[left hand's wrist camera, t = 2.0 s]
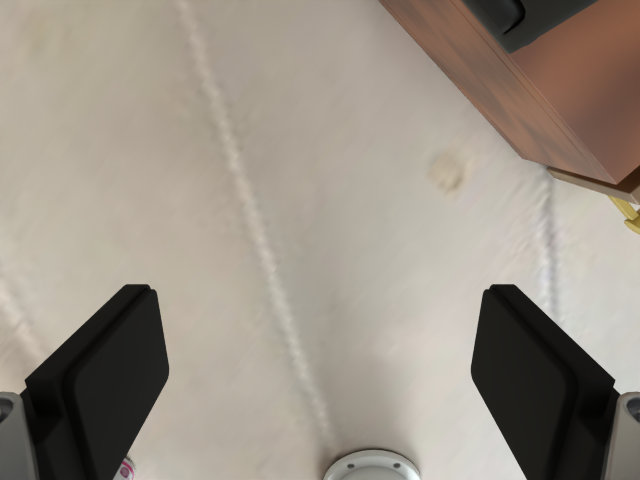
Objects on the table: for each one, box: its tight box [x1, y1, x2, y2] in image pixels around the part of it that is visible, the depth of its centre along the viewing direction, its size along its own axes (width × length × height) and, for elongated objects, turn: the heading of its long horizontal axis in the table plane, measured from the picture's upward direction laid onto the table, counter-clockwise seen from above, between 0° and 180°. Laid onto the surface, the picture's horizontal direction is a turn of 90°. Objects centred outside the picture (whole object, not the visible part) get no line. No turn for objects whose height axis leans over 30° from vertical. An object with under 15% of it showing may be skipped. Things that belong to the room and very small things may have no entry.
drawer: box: [547, 165, 640, 234], centre depth 27 cm, size 24×9×10 cm, turn 48°
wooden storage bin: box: [379, 0, 640, 184], centre depth 26 cm, size 20×10×12 cm, turn 48°
